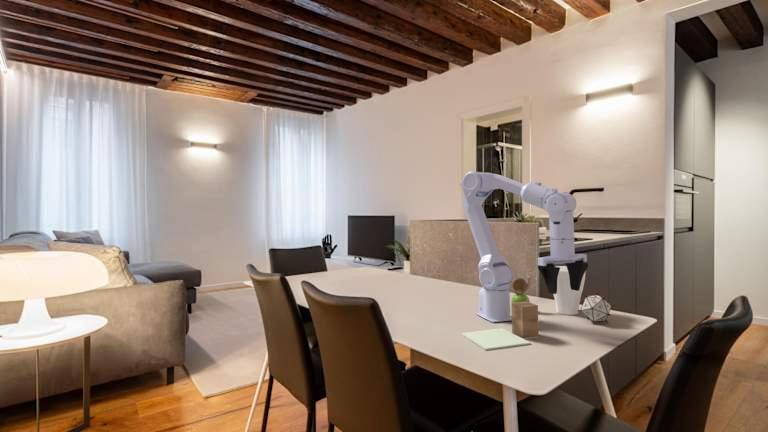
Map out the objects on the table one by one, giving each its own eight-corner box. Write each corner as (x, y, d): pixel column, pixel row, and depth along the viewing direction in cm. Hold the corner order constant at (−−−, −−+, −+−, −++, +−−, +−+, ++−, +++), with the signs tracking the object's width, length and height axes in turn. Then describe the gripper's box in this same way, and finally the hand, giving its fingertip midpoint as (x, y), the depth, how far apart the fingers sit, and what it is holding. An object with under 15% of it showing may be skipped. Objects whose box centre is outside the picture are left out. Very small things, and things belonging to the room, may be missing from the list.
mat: (461, 334, 100) (461, 333, 100) (502, 329, 103) (502, 328, 103) (485, 350, 88) (485, 348, 88) (530, 344, 91) (530, 342, 91)
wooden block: (512, 333, 99) (511, 302, 99) (527, 331, 101) (526, 301, 100) (522, 339, 95) (522, 307, 95) (538, 337, 96) (537, 305, 96)
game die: (604, 336, 106) (623, 313, 100) (573, 325, 107) (590, 301, 102) (600, 314, 113) (618, 291, 107) (571, 303, 114) (587, 280, 109)
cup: (569, 318, 111) (568, 272, 111) (541, 310, 121) (540, 267, 120) (594, 314, 115) (593, 269, 115) (565, 306, 125) (564, 265, 125)
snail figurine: (535, 312, 119) (534, 273, 119) (514, 312, 119) (514, 274, 119) (529, 308, 124) (528, 271, 124) (509, 308, 125) (508, 271, 124)
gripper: (551, 241, 93) (553, 297, 93) (596, 238, 98) (598, 291, 98) (531, 240, 100) (533, 292, 100) (573, 237, 105) (575, 286, 105)
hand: (563, 291), depth 99 cm, fingers open, 7 cm apart
